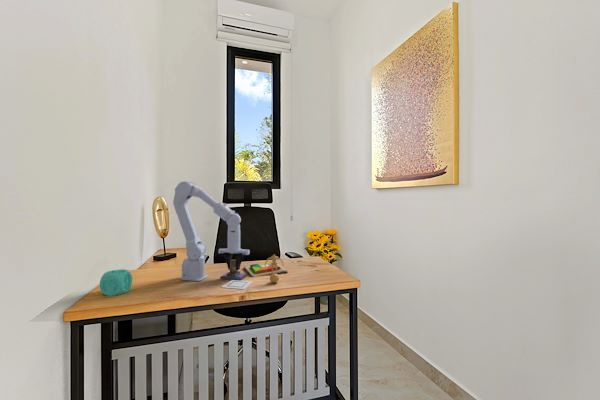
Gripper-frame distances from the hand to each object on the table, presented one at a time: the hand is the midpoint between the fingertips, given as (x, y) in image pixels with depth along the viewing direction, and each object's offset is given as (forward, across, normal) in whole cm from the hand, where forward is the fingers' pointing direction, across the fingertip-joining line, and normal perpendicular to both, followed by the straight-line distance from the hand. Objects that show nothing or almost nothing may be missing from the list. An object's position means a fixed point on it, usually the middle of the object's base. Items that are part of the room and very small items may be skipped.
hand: (234, 269), depth 129 cm
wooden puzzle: (+5, +10, +15) cm, 19 cm away
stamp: (+2, 0, 0) cm, 2 cm away
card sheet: (+4, +6, -9) cm, 11 cm away
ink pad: (+4, 0, 0) cm, 4 cm away
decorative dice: (+4, -36, -28) cm, 46 cm away
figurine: (+4, +20, -2) cm, 20 cm away
